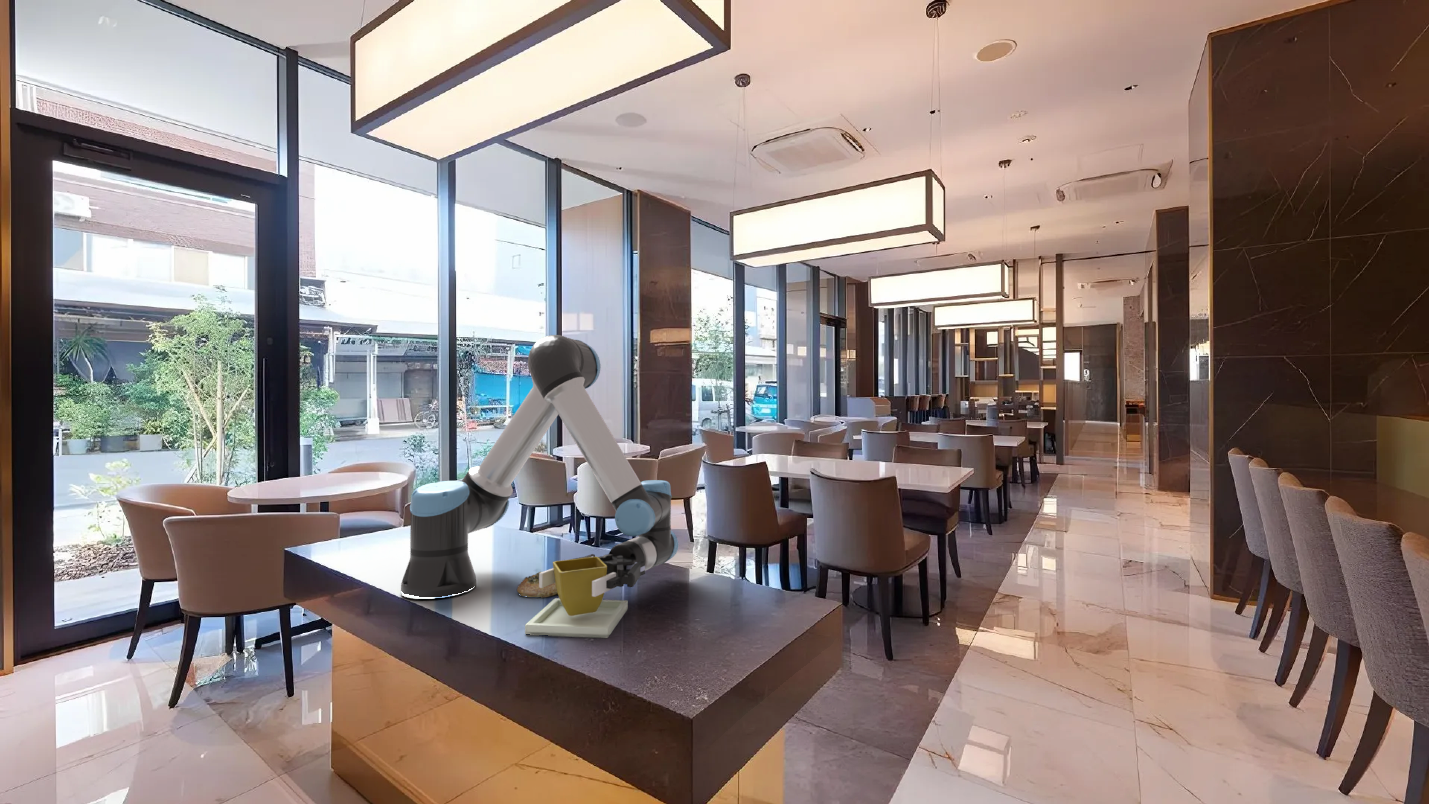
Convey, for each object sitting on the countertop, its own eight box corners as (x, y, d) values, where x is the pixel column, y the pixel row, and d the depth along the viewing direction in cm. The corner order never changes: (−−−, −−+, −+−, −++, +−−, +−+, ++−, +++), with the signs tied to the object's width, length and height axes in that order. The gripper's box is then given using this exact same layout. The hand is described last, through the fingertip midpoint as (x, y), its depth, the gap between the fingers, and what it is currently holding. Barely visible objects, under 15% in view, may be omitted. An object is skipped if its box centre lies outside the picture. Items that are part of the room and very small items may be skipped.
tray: (525, 634, 106) (525, 624, 106) (554, 607, 121) (555, 598, 121) (607, 638, 105) (607, 627, 105) (627, 609, 120) (627, 600, 120)
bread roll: (537, 581, 139) (539, 560, 139) (577, 593, 135) (579, 571, 135) (504, 596, 129) (506, 574, 129) (546, 610, 125) (548, 587, 124)
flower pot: (559, 622, 107) (559, 571, 107) (552, 607, 115) (552, 560, 115) (608, 615, 111) (607, 566, 111) (597, 601, 119) (597, 556, 119)
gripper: (679, 582, 124) (620, 614, 104) (586, 568, 134) (516, 596, 114) (680, 546, 124) (621, 571, 104) (587, 535, 134) (517, 557, 115)
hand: (566, 584), depth 109 cm, fingers closed on flower pot, 11 cm apart
